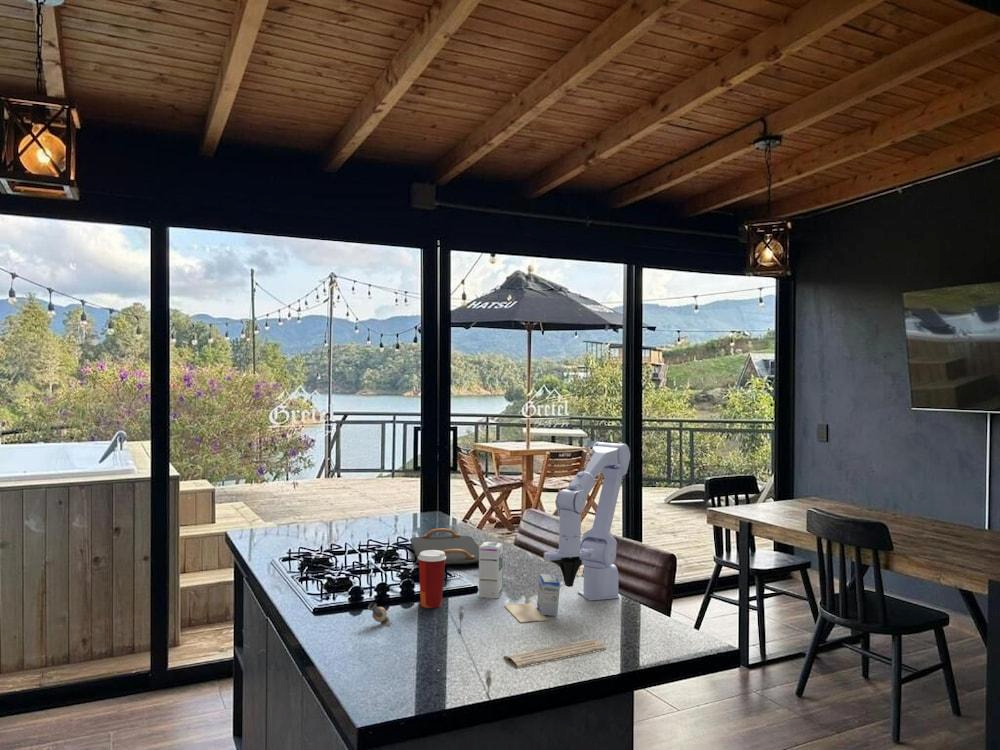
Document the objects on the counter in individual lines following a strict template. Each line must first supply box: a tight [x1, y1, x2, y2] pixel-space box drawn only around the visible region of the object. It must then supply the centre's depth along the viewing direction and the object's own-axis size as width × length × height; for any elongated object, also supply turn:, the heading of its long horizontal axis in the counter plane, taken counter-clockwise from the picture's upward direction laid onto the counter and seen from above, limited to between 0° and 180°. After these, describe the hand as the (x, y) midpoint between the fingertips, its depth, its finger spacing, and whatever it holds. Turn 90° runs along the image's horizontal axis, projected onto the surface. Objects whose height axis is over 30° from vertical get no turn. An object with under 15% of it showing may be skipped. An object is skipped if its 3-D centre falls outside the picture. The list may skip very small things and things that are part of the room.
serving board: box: [409, 527, 480, 567], centre depth 245 cm, size 39×23×6 cm, turn 12°
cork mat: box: [504, 602, 549, 624], centre depth 186 cm, size 8×13×1 cm, turn 18°
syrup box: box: [478, 541, 504, 600], centre depth 201 cm, size 6×6×14 cm
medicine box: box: [536, 573, 561, 617], centre depth 188 cm, size 8×4×9 cm, turn 5°
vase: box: [367, 601, 393, 629], centre depth 175 cm, size 5×5×6 cm
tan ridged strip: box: [503, 638, 607, 669], centre depth 160 cm, size 24×7×2 cm, turn 119°
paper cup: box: [418, 550, 446, 609], centre depth 191 cm, size 8×8×14 cm
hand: (568, 585), depth 189 cm, fingers closed
